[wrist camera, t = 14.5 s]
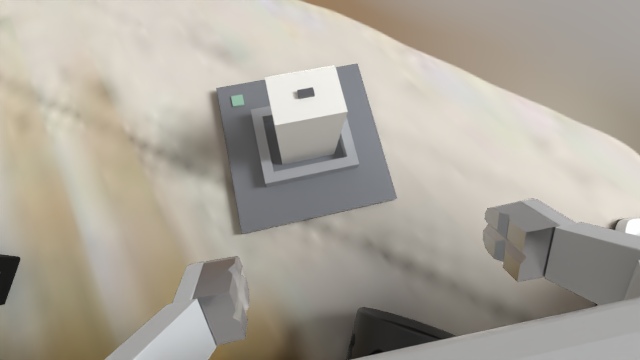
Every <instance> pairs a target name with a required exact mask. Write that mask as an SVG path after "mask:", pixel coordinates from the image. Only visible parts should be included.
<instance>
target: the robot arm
mask: <svg viewBox="0 0 640 360" xmlns="http://www.w3.org/2000/svg"><path fill="white" fill-rule="evenodd" d="M485 220H486V222H487V223H488V225H487V226H486V228H485V229H484V230H483V241H484V245H485V248H486V249H487V251H488V253H489V254H490V255H491V256H492V257H493V258H495V259H497V260H500V261H502V262H503V268H504V269H505V270H506V271H507V272H508V273H509V274H510V275H511V276H512V277H513V278H514V279H515V280H516V281H517V282H519V281H525V280H530V279H536V278H542V277H545V279H547V280H549V281H551V282H553V283H555V284H557V285H559V286H561V287H563V288H565V289H567V290H569V291H571V292H573V293H575V294H577V295H579V296H581V297H584V298H586V299H588V300H590V301H592V302H594V303H596V304H597V306H595V307H591V308H586V309H582V310H577V311H573V312H568V313H563V314H559V315H554V316H549V317H545V318H540V319H535V320H531V321H526V322H521V323H517V324H512V325H508V326H503V327H498V328H494V329H489V330H484V331H480V332H475V333H470V334H466V335H461V336H457V337H452V338H447V339H443V340H438V341H434V342H429V343H425V344H420V345H415V346H411V347H406V348H402V349H397V350H392V351H388V352H383V353H379V354H374V355H369V356H365V357H360V358H356V359H351V360H640V218H627V219H621V220H620V221H619V222H618V223H617V225H616V229H615V230H612V229H608V228H604V227H600V226H596V225H591V224H587V223H583V222H579V223H576V222H574V221H572V220H571V219H569V218H567V217H566V216H564V215H563V214H561V213H559V212H558V211H556V210H554V209H553V208H551V207H549V206H548V205H546V204H544V203H543V202H541V201H539V200H538V199H533V198H531V199H527V200H522V201H518V202H515V203H510V204H505V205H500V206H496V207H491V208H487V210H486V212H485ZM241 272H242V264H241V261H240V258H239V257H238V256H234V257H228V258H222V259H217V260H211V261H206V262H200V263H194V264H190V265H188V266H187V267H186V270H185V272H184V275H183V277H182V280H181V282H180V285H179V287H178V290H177V292H176V295H175V297H174V300H173V302H172V304H167V305H166V306H165V307H164V308H162V309H161V310H160V311H159V312H158V313H157V314H156V315H154V316H153V317H152V318H151V319H150V320H149V321H148V322H147V323H145V324H144V325H143V326H142V327H141V328H140V329H139V330H137V331H136V332H135V333H134V334H133V335H132V336H131V337H129V338H128V339H127V340H126V341H125V342H124V343H123V344H122V345H120V346H119V347H118V348H117V349H116V350H115V351H114V352H112V353H111V354H110V355H109V356H108V357H107V358H106V359H104V360H208V359H209V358H210V356H211V355H212V353H213V352H214V350H215V349H216V345H221V344H225V343H229V342H233V341H237V340H242V339H246V331H247V321H248V319H247V316H246V313H245V312H246V311H247V309H248V308H249V289H248V283H247V280H246V277H244V276H243V275H241Z"/></svg>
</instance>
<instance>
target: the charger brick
mask: <svg viewBox="0 0 640 360" xmlns="http://www.w3.org/2000/svg"><path fill="white" fill-rule="evenodd" d="M265 82H266V87H267V92H268V97H269V102H270V106H271V111H272V116H273V121H274V126H275V131H276V136H277V140H278V145H279V150H280V154H281V159H282V164H283V165H284V164H289V163H293V162H298V161H303V160H308V159H313V158H318V157H323V156H328V155H333V154H334V153H335V150H336V147H337V143H338V140H339V137H340V134H341V131H342V128H343V125H344V122H345V118H346V115H347V112H348V111H347V107H346V103H345V100H344V96H343V92H342V89H341V85H340V81H339V78H338V74H337V70H336V67H335V65H332V66H326V67H320V68H315V69H309V70H303V71H297V72H291V73H286V74H280V75H274V76H268V77H265Z"/></svg>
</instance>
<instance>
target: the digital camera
mask: <svg viewBox="0 0 640 360" xmlns="http://www.w3.org/2000/svg"><path fill="white" fill-rule="evenodd" d="M19 262H20V257H16V256H9V255H1V254H0V272H1V273H0V305H3V304H5V302H6V299H7V296H8V293H9V290H10V287H11V285H12V282H13V279H14V276H15V273H16V270H17V268H18V265H19Z"/></svg>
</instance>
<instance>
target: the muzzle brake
mask: <svg viewBox="0 0 640 360" xmlns="http://www.w3.org/2000/svg"><path fill="white" fill-rule="evenodd" d="M452 337H457V336H455V335H453V334H450V333H448V332H445V331H443V330H440V329H437V328H435V327H432V326H429V325H426V324H423V323H420V322H418V321H415V320H411V319H408V318H405V317H402V316H398V315H395V314H391V313H388V312H384V311H380V310H376V309H371V308H365V307H361V308H359V309H358V312H357V316H356V320H355V325H354V329H353V333H352V337H351V342H350V346H349V350H348V354H347V359H346V360H351V359H356V358H360V357H365V356H369V355H374V354H379V353H383V352H388V351H392V350H397V349H402V348H406V347H411V346H415V345H420V344H425V343H429V342H434V341H438V340H443V339H447V338H452Z"/></svg>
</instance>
